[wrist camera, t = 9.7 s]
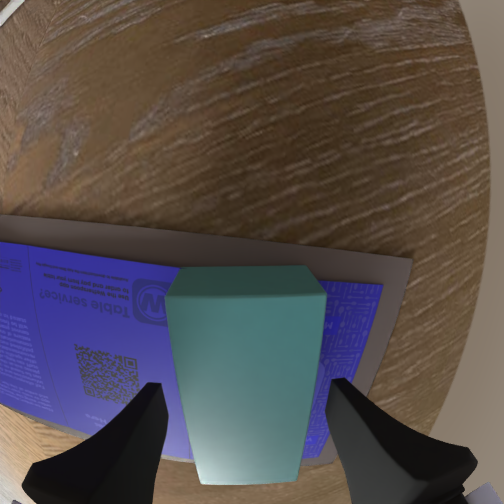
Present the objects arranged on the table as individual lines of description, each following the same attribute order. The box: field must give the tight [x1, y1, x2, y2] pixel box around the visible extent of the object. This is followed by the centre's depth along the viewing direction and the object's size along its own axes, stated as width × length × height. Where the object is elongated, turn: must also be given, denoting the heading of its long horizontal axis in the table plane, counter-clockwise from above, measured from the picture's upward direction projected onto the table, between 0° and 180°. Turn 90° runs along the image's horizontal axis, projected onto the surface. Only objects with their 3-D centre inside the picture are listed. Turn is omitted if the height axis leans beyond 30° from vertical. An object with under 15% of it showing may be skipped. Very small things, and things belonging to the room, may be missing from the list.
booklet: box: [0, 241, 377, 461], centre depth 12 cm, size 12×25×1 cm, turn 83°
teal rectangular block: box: [165, 265, 327, 485], centre depth 12 cm, size 5×11×3 cm, turn 0°
